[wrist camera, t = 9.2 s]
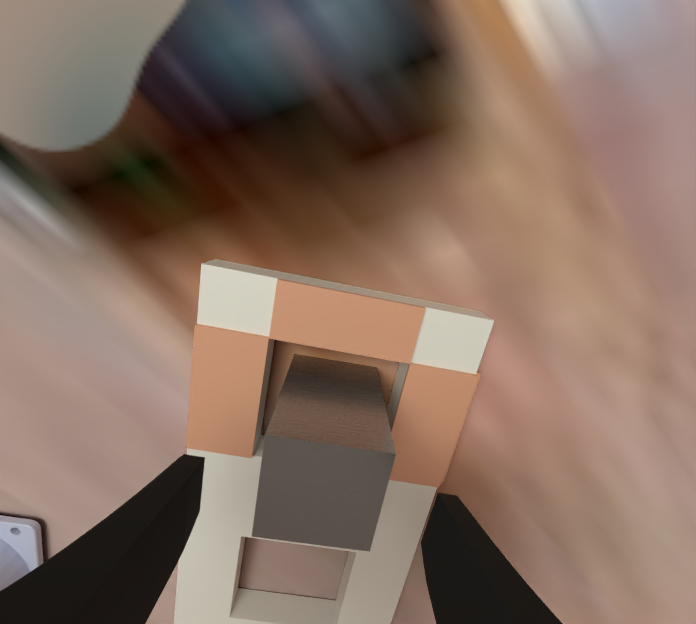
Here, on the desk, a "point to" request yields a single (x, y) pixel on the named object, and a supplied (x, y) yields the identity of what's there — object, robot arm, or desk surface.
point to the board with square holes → (247, 442)
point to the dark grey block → (325, 457)
